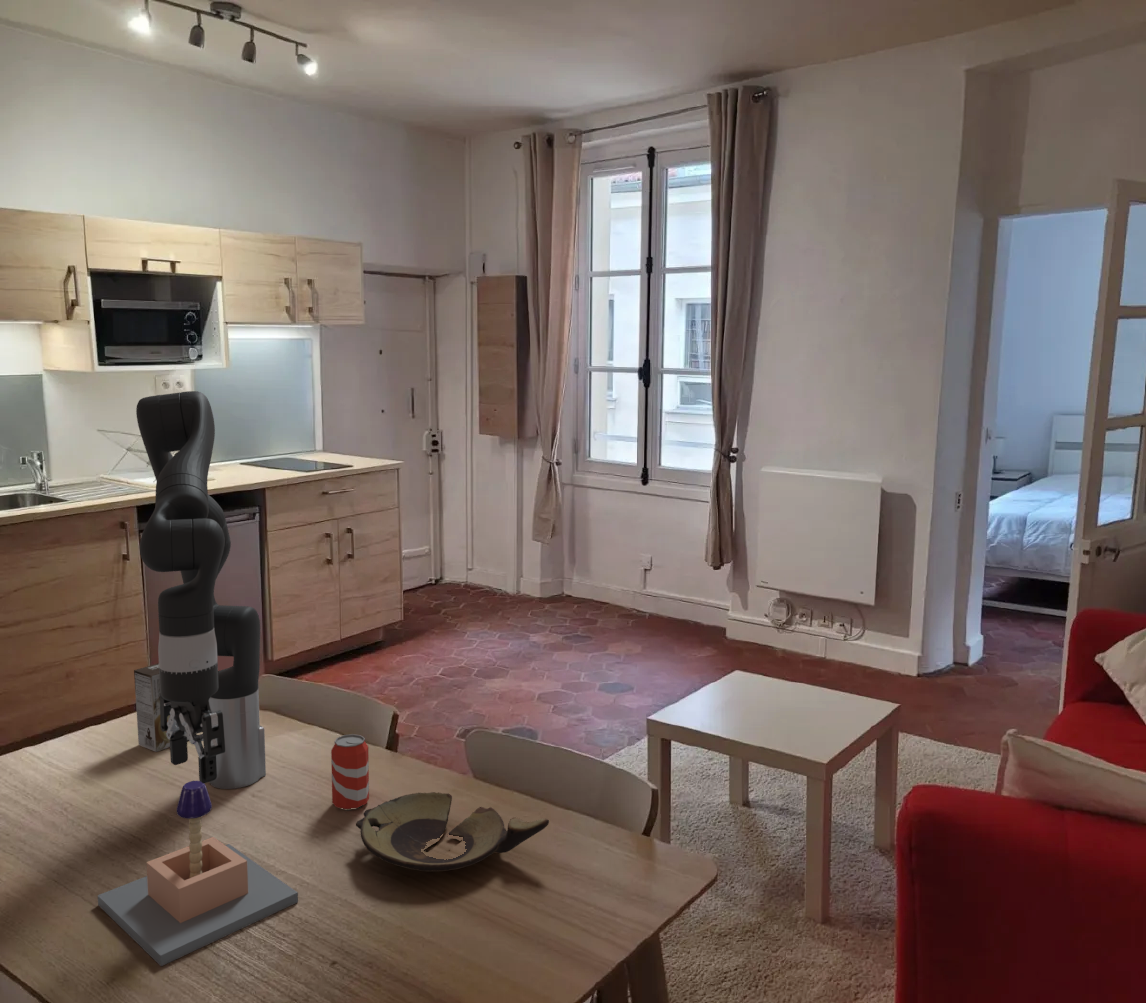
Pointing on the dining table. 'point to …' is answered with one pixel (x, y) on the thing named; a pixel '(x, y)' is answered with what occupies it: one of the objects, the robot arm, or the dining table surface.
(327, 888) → the dining table surface
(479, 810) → the broken brown handled bowl
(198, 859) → the toy lamp
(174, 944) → the socket block
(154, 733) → the coffee box
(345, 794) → the beverage can
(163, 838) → the dining table surface
